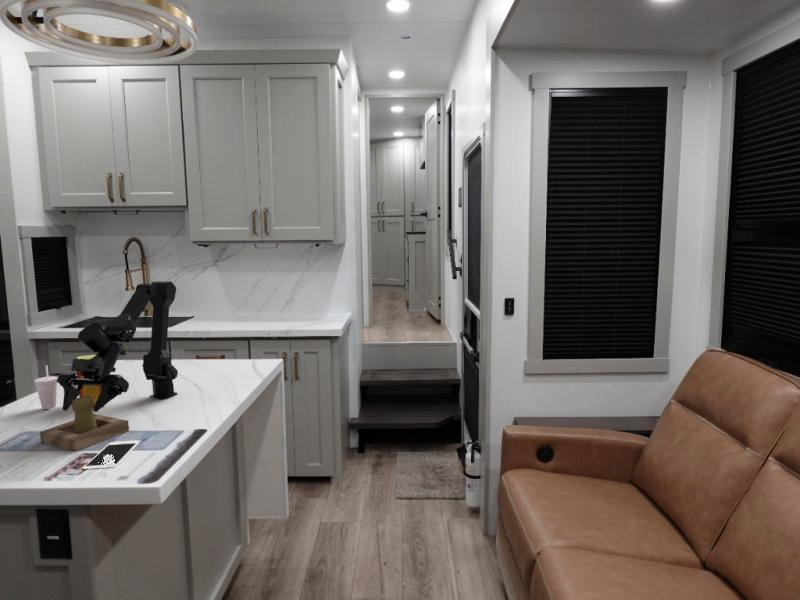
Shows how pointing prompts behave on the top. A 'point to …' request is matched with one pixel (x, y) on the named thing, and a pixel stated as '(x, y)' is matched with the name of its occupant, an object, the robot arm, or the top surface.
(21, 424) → the top surface
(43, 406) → the smoothie
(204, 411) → the top surface
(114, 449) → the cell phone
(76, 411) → the cork
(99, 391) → the baking soda box
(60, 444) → the walnut socket
